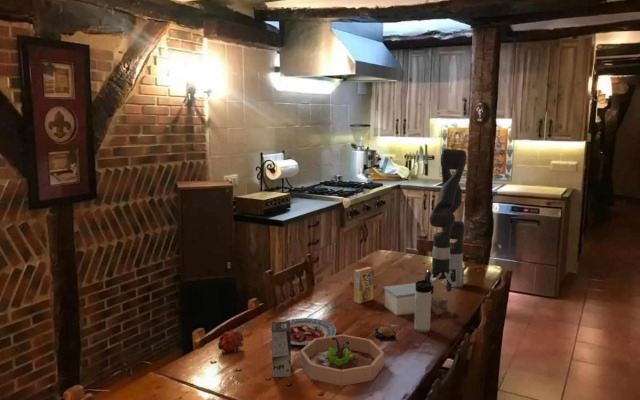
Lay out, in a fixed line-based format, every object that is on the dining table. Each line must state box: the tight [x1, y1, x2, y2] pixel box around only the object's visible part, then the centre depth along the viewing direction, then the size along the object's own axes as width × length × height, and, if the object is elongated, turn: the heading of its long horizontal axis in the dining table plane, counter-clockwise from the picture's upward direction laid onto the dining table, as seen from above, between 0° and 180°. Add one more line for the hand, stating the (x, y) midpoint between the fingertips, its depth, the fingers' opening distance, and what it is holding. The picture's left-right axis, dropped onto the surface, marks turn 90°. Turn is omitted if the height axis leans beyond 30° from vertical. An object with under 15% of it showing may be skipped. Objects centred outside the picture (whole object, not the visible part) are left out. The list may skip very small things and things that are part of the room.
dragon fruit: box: [217, 329, 245, 354], centre depth 198 cm, size 8×8×12 cm
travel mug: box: [413, 279, 432, 333], centre depth 215 cm, size 6×7×20 cm
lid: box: [382, 282, 416, 297], centre depth 239 cm, size 17×13×1 cm
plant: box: [310, 337, 370, 370], centre depth 184 cm, size 20×20×11 cm
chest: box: [384, 289, 415, 316], centre depth 239 cm, size 16×12×8 cm
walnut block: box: [431, 295, 449, 315], centre depth 236 cm, size 5×5×6 cm
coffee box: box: [271, 320, 292, 378], centre depth 181 cm, size 9×6×16 cm
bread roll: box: [373, 326, 397, 342], centre depth 211 cm, size 11×8×4 cm
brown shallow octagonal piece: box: [300, 333, 385, 387], centre depth 186 cm, size 27×27×5 cm
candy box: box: [353, 266, 374, 304], centre depth 249 cm, size 9×4×15 cm, turn 129°
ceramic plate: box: [270, 317, 337, 346], centre depth 212 cm, size 26×26×3 cm
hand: (439, 292), depth 234 cm, fingers open, 8 cm apart
